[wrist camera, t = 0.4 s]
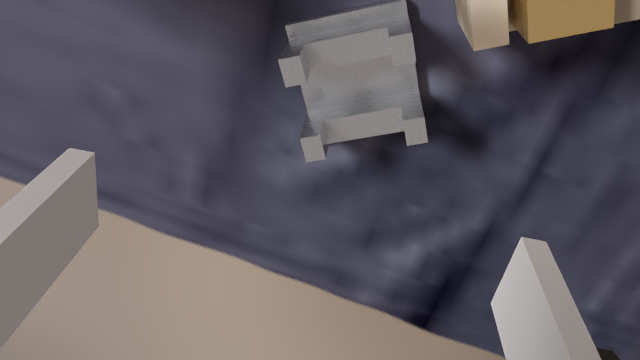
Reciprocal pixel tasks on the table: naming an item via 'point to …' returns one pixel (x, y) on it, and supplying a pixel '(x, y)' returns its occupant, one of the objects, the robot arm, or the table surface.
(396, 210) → the table surface
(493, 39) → the beige channeled block
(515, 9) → the wooden block
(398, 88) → the stand
